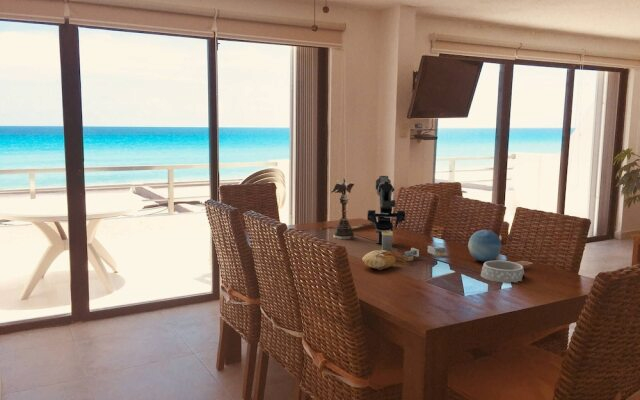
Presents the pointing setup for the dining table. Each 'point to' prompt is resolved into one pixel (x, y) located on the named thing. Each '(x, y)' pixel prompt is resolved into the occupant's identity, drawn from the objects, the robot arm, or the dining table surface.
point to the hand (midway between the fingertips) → (386, 229)
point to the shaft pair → (432, 250)
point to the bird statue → (343, 211)
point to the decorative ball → (484, 245)
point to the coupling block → (387, 240)
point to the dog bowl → (502, 271)
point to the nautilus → (380, 259)
